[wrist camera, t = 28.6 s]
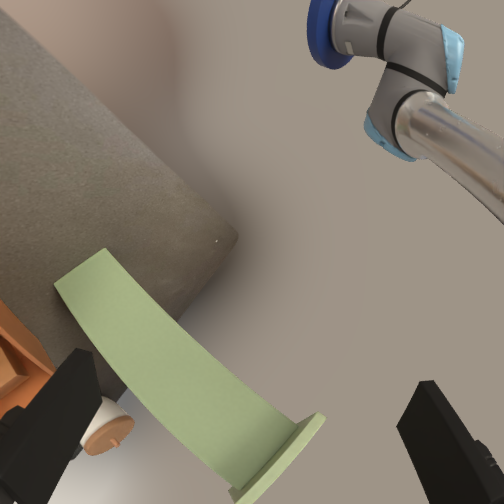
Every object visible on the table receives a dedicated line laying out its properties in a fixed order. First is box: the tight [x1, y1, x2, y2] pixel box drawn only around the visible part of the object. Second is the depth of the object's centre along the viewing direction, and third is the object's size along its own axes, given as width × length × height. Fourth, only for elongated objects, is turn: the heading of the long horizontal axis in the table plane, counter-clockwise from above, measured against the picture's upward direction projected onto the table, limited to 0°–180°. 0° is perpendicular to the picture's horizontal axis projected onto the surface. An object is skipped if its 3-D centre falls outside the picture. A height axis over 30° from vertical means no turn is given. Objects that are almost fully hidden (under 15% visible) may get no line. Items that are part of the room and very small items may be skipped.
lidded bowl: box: [80, 396, 135, 456], centre depth 46 cm, size 13×13×11 cm
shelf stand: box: [54, 248, 326, 504], centre depth 28 cm, size 12×10×30 cm
